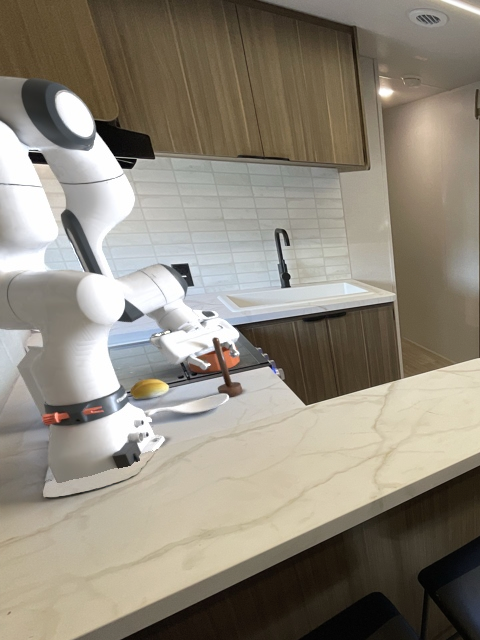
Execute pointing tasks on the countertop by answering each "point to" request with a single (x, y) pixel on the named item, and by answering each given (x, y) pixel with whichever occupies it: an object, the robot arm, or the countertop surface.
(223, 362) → the wooden masher
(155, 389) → the bread roll
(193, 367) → the bowl
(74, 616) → the countertop surface
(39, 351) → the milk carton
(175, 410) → the spoon
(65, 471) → the robot arm
